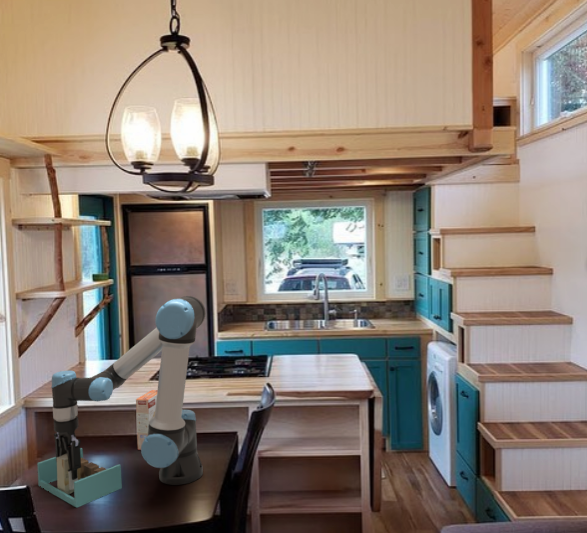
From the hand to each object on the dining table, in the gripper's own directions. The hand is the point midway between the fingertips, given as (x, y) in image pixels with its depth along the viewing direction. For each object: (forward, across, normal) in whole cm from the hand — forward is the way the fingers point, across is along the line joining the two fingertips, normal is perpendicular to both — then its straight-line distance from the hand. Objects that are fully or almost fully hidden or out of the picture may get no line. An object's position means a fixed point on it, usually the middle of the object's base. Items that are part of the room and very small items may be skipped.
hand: (69, 485), depth 174 cm
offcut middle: (+2, 0, -8) cm, 8 cm away
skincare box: (+2, 0, 0) cm, 2 cm away
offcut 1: (+2, +7, -8) cm, 11 cm away
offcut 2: (+2, -7, -8) cm, 11 cm away
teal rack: (+2, 0, -4) cm, 4 cm away
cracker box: (+2, +12, -42) cm, 43 cm away
